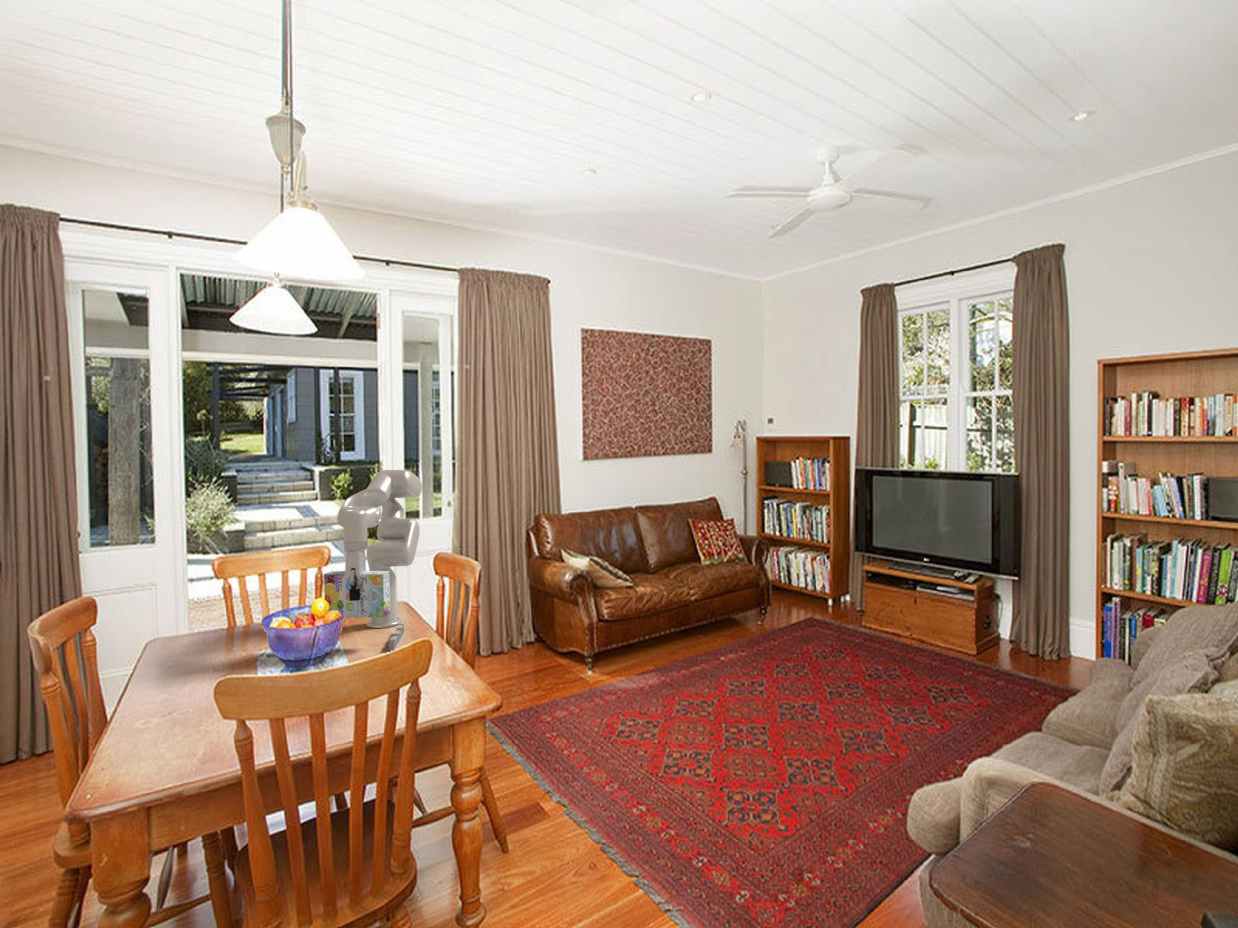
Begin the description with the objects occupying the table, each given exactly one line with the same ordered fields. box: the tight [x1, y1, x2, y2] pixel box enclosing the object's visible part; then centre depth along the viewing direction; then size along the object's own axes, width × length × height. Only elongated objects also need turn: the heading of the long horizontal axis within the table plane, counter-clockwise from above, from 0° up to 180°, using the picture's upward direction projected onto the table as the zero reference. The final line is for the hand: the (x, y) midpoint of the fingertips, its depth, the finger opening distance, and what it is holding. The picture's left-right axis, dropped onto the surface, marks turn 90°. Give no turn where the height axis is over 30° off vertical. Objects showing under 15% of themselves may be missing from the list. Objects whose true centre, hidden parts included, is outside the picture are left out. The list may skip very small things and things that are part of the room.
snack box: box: [323, 570, 390, 618], centre depth 217 cm, size 21×6×15 cm, turn 85°
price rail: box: [388, 623, 405, 652], centre depth 221 cm, size 22×2×3 cm, turn 10°
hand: (357, 597), depth 217 cm, fingers closed on snack box, 6 cm apart
